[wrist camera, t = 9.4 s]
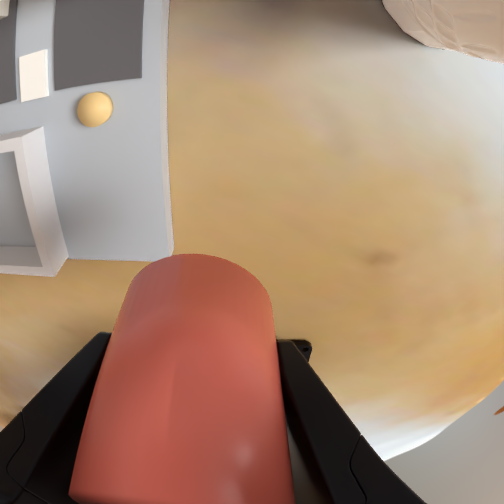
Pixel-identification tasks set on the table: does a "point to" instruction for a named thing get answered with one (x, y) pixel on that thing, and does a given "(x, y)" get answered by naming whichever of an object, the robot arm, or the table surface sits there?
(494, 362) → the table surface
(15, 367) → the table surface
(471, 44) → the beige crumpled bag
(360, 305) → the table surface
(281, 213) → the table surface
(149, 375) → the pink cylinder with nub
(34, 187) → the panel
